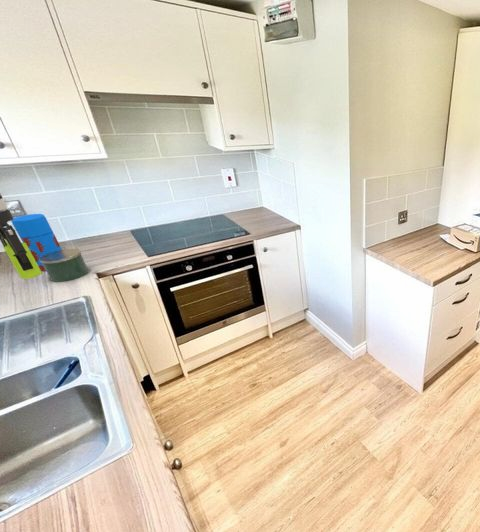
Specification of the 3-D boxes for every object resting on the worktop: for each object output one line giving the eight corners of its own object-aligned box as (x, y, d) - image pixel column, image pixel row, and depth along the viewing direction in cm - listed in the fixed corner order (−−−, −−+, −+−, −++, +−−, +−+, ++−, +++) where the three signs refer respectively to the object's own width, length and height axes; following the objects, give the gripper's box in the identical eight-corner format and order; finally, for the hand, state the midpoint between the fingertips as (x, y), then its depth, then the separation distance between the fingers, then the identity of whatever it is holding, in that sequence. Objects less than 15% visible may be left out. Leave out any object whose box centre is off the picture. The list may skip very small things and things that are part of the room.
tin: (58, 284, 142) (46, 264, 138) (44, 277, 148) (33, 257, 143) (95, 272, 153) (86, 252, 148) (81, 265, 159) (72, 246, 154)
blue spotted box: (56, 260, 163) (31, 213, 152) (74, 262, 162) (50, 214, 151) (31, 270, 154) (3, 220, 142) (50, 272, 152) (23, 222, 141)
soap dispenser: (13, 278, 127) (-14, 230, 118) (36, 270, 133) (11, 225, 124) (22, 281, 125) (-5, 233, 116) (45, 273, 131) (20, 227, 122)
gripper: (18, 212, 116) (48, 269, 126) (-2, 204, 124) (28, 258, 134) (-13, 218, 110) (21, 277, 120) (-32, 209, 118) (2, 265, 128)
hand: (25, 267), depth 127 cm, fingers closed on soap dispenser, 6 cm apart
